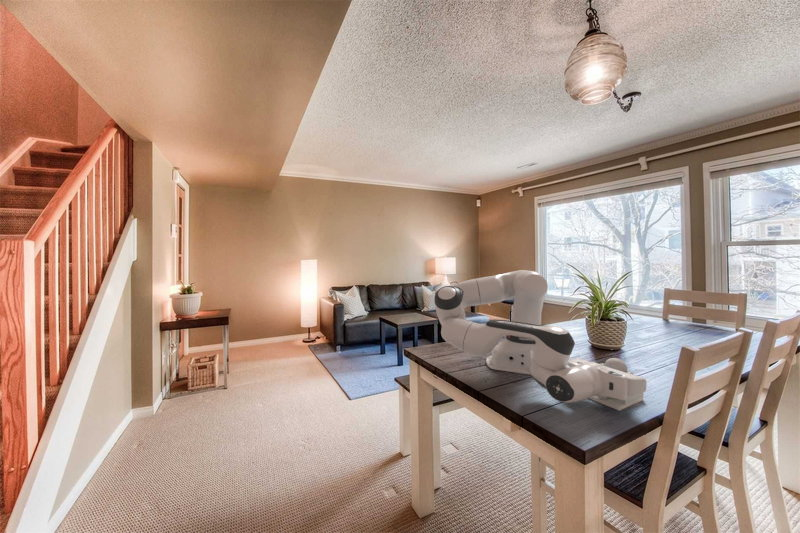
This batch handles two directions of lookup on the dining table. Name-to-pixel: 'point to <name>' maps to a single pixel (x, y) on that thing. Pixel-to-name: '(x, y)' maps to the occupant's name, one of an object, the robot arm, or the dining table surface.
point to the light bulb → (616, 364)
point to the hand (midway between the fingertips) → (617, 370)
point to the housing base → (618, 401)
